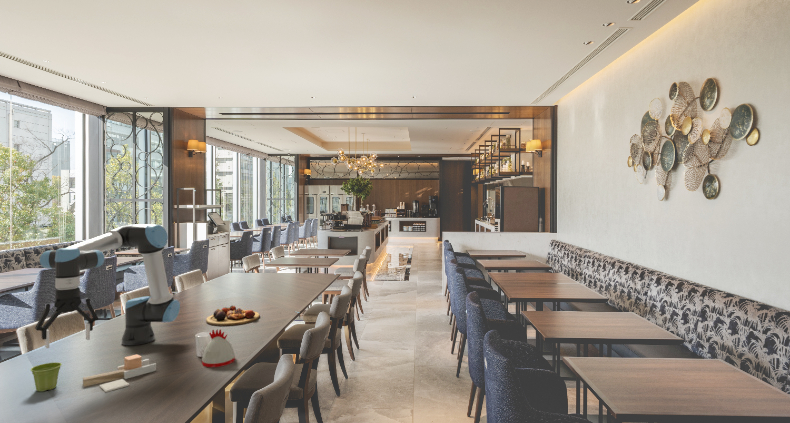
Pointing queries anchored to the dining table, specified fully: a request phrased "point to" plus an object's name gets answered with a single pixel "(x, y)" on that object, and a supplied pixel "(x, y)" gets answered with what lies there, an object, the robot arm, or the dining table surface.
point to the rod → (103, 377)
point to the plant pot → (46, 376)
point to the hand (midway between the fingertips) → (68, 343)
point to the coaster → (114, 385)
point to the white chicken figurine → (218, 351)
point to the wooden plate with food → (232, 317)
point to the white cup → (202, 342)
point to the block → (132, 362)
